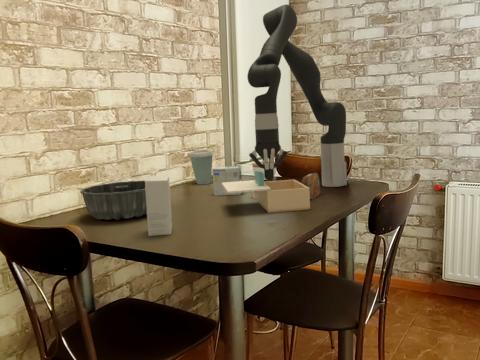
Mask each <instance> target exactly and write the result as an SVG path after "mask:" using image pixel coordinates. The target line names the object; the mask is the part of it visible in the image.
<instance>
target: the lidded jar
mask: <svg viewBox="0 0 480 360" xmlns="http://www.w3.org/2000/svg"><path fill="white" fill-rule="evenodd" d="M260 163H261V164H263V161H260ZM274 163H275V161H274ZM268 167H269V161H268ZM276 168H277V167H276ZM276 168H274V176H275V175H276V171H277V169H276ZM252 171H253V173H252V174H253V175H254V177H255V171H261V172H262V173H264V169H263V168H260V167H258V165H257V164H256V163H255V162H253V163H252ZM264 180H267V179H265V175H264Z"/></svg>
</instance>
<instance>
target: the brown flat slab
mask: <svg viewBox="0 0 480 360" xmlns="http://www.w3.org/2000/svg"><path fill="white" fill-rule="evenodd" d="M301 183H302V184H303V185H305V186H307V187H309V192H310V200H314V199H315V198H316V197H318V196H319V195H320V194H321V193H320V192H321V179H320V175H319V173H318V172H314V173H312V172H311V173H309V174H307V175H305V176H303V177H302V179H301Z"/></svg>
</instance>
